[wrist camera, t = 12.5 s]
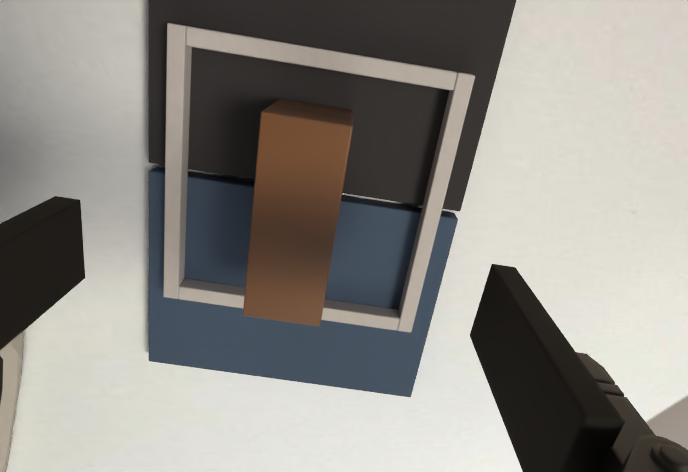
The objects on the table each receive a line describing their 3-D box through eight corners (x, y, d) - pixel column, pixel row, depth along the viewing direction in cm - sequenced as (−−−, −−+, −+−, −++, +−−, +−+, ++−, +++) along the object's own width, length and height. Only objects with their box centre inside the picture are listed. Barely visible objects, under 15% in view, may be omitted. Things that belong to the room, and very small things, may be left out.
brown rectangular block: (279, 97, 22) (260, 111, 17) (353, 110, 22) (353, 126, 18) (262, 267, 25) (242, 316, 21) (325, 276, 26) (319, 327, 21)
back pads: (157, -113, 20) (137, -129, 18) (522, -46, 21) (538, -56, 19) (154, 351, 29) (141, 372, 27) (409, 386, 29) (412, 409, 28)
